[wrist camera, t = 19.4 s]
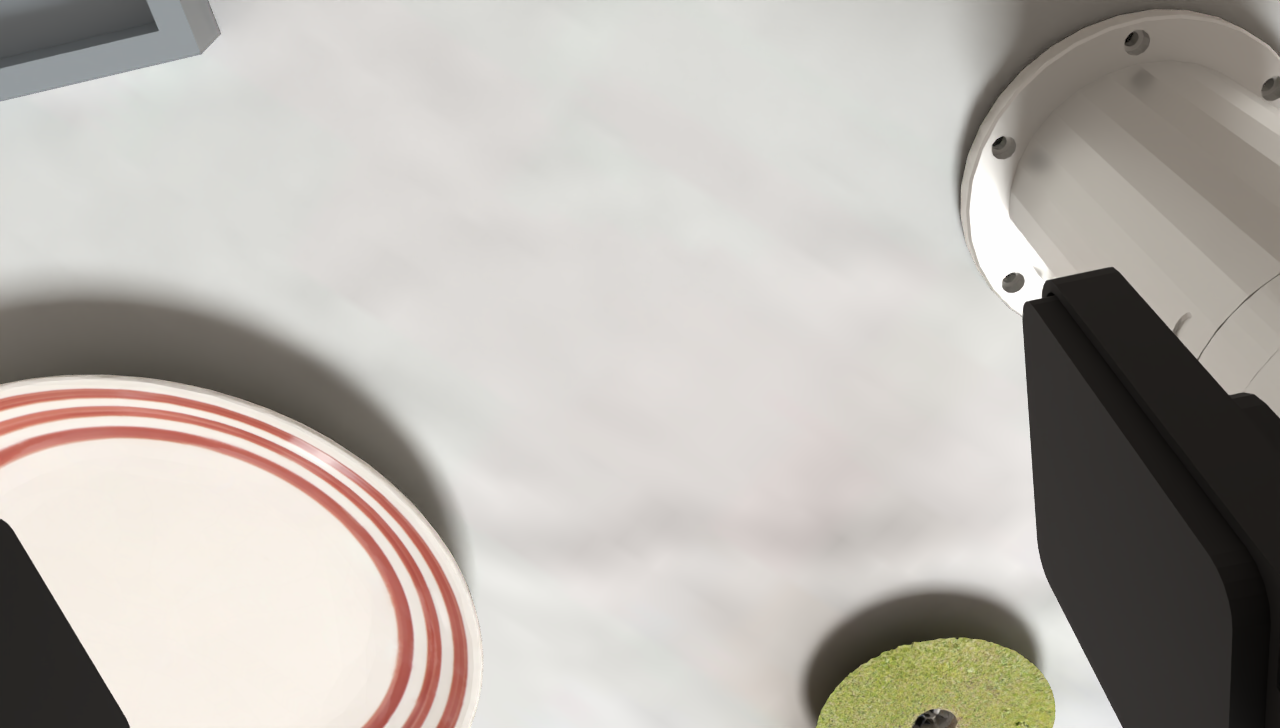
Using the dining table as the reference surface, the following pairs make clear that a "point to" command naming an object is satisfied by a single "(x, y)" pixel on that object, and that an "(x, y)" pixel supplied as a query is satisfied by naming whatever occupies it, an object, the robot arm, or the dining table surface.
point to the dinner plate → (233, 561)
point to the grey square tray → (95, 39)
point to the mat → (942, 689)
